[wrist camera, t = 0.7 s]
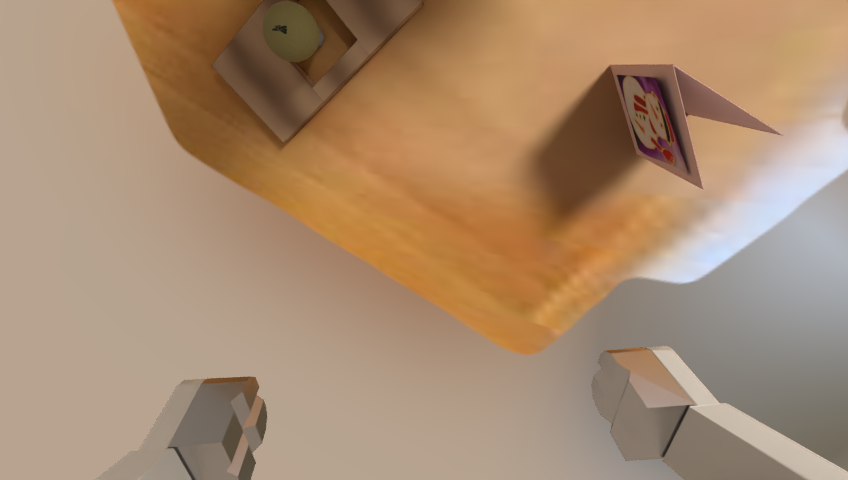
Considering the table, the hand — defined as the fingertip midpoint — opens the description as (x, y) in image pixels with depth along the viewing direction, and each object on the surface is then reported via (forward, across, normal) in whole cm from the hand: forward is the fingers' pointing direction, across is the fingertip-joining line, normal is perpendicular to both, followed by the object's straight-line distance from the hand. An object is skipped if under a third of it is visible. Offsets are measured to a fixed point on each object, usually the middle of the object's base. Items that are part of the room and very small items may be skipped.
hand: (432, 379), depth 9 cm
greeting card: (+39, -29, +1) cm, 49 cm away
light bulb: (+47, +10, -6) cm, 48 cm away
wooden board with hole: (+47, +10, -6) cm, 48 cm away
